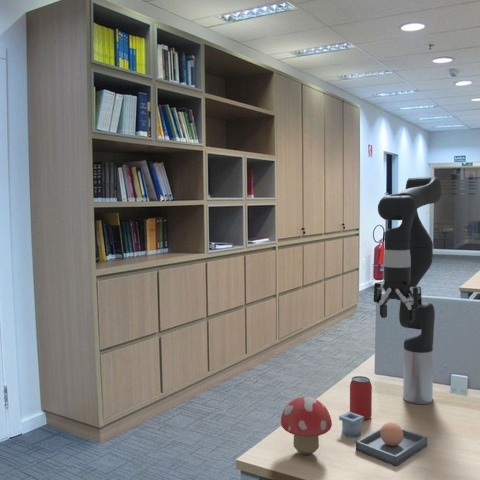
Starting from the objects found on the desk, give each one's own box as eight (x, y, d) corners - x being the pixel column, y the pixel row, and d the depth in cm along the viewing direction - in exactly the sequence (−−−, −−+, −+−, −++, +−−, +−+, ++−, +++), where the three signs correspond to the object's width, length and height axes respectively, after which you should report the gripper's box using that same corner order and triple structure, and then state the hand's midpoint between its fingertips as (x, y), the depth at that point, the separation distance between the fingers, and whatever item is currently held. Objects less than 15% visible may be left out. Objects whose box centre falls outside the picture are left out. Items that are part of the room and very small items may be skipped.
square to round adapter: (349, 427, 154) (349, 411, 153) (364, 433, 150) (364, 416, 150) (338, 433, 150) (338, 416, 150) (353, 439, 146) (353, 421, 146)
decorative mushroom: (331, 468, 130) (332, 409, 129) (278, 464, 132) (278, 406, 131) (331, 444, 143) (331, 390, 142) (283, 441, 146) (282, 388, 145)
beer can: (372, 421, 158) (372, 383, 157) (349, 420, 159) (350, 381, 159) (371, 413, 164) (371, 376, 164) (349, 411, 166) (349, 374, 165)
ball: (387, 437, 145) (387, 416, 144) (407, 444, 140) (407, 423, 140) (375, 444, 141) (375, 423, 140) (395, 452, 136) (395, 430, 136)
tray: (387, 432, 150) (388, 424, 150) (427, 446, 142) (427, 437, 141) (355, 450, 139) (355, 441, 139) (396, 466, 131) (396, 456, 131)
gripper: (426, 265, 149) (426, 321, 150) (382, 261, 159) (382, 314, 160) (413, 268, 143) (412, 326, 145) (368, 264, 154) (368, 318, 155)
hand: (396, 319), depth 152 cm, fingers open, 8 cm apart
